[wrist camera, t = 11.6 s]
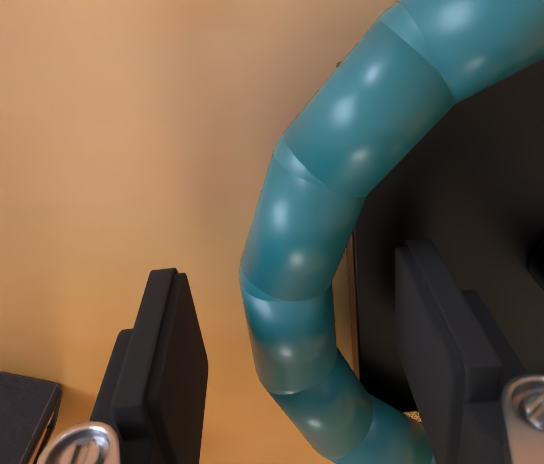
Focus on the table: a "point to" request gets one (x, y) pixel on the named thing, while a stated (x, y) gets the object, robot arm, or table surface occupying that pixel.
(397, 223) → the stand
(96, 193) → the table surface
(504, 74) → the ring
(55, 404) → the ammunition clip
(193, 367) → the robot arm
